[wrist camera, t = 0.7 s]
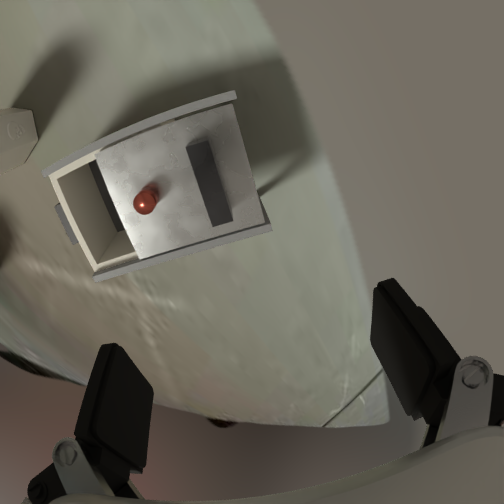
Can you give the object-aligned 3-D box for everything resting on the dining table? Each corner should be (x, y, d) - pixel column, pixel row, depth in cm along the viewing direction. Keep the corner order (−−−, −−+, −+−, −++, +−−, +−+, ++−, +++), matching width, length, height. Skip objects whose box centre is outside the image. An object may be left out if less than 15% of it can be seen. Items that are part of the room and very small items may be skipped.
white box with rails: (69, 157, 31) (28, 178, 22) (230, 94, 30) (234, 89, 21) (107, 245, 37) (82, 286, 29) (259, 197, 37) (272, 230, 28)
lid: (98, 152, 23) (81, 161, 20) (231, 103, 23) (233, 103, 19) (141, 254, 29) (133, 274, 25) (263, 218, 28) (269, 235, 25)
